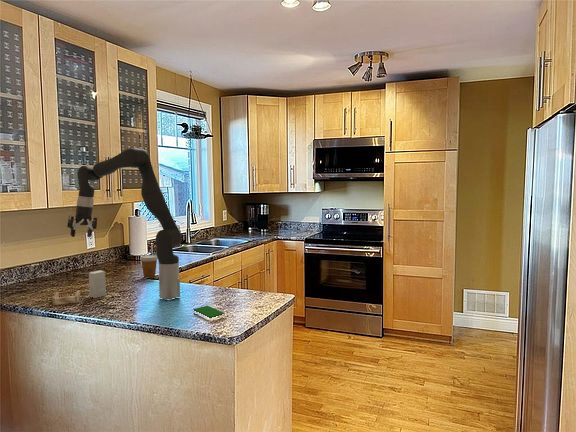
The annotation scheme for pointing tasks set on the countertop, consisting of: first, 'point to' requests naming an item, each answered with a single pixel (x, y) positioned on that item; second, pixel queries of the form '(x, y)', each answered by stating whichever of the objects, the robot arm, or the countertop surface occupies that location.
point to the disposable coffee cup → (149, 265)
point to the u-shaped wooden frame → (65, 299)
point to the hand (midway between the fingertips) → (81, 236)
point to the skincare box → (97, 284)
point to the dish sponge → (208, 311)
